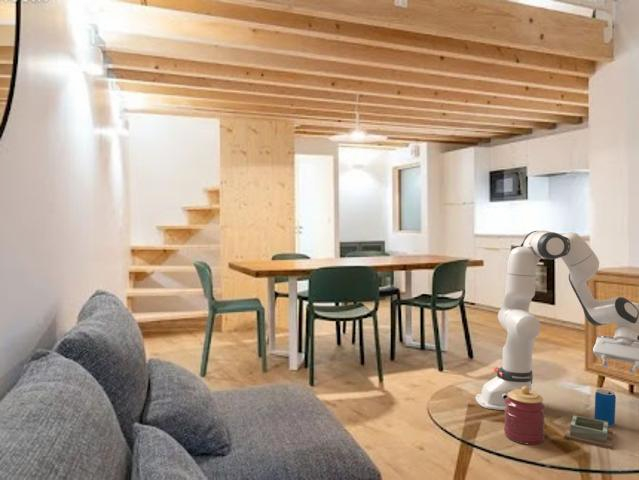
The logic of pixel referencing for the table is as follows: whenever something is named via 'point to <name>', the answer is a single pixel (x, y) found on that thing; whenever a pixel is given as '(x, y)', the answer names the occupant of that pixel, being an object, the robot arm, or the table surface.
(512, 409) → the canister
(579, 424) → the cradle
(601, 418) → the beverage can
